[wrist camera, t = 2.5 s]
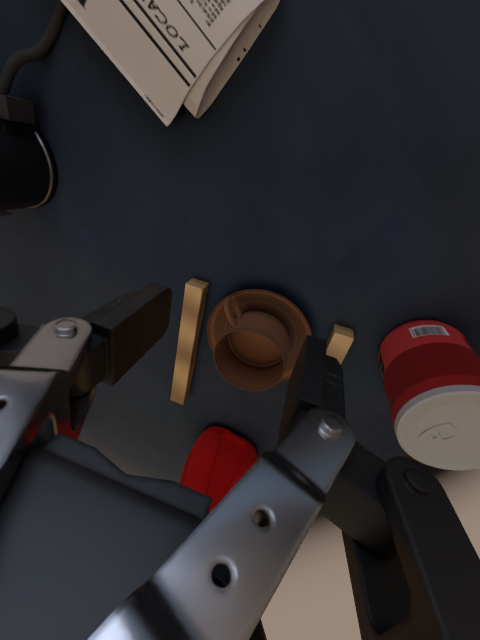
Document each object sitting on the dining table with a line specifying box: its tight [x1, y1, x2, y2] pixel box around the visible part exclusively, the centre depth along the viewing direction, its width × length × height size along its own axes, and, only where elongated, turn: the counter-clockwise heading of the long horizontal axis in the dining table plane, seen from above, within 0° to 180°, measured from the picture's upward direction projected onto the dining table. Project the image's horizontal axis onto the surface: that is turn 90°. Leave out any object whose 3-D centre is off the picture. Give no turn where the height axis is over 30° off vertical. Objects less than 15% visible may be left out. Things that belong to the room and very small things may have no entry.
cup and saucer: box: [207, 289, 312, 392], centre depth 31 cm, size 12×12×6 cm
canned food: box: [378, 320, 480, 470], centre depth 25 cm, size 8×8×11 cm
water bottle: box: [180, 427, 257, 512], centre depth 34 cm, size 9×11×25 cm
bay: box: [170, 278, 354, 405], centre depth 36 cm, size 18×18×2 cm
